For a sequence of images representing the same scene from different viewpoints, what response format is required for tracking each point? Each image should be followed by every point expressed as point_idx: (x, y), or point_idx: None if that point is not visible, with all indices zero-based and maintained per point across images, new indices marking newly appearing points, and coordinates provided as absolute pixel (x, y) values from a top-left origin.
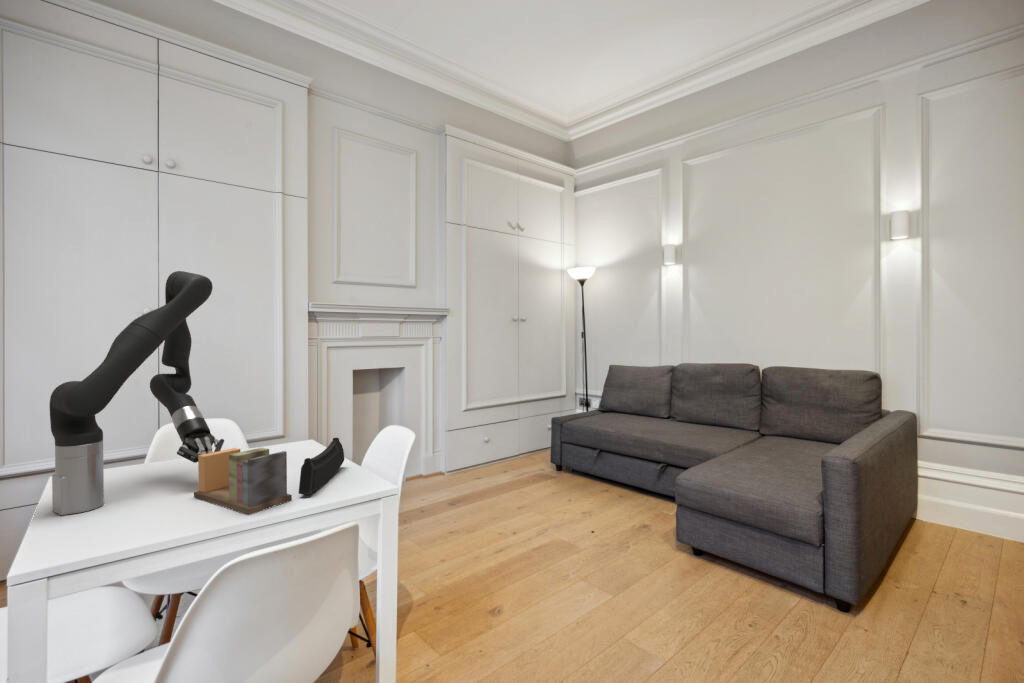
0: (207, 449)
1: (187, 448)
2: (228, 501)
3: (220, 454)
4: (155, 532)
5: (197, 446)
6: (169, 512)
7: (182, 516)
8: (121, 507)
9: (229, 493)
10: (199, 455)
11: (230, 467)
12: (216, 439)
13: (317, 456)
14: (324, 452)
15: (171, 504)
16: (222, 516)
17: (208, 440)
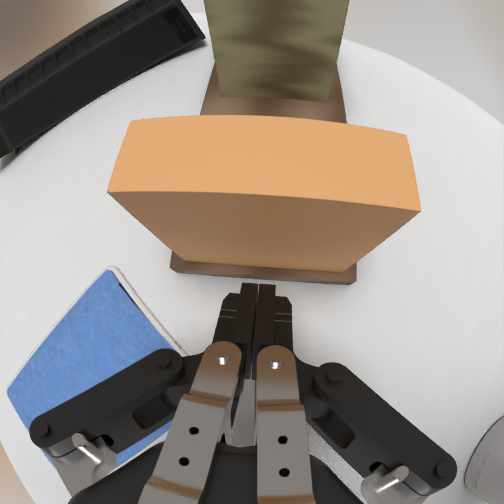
0: (227, 410)
1: (401, 465)
2: (335, 95)
3: (286, 123)
4: (470, 130)
5: (306, 474)
6: (441, 210)
7: (427, 152)
8: (479, 385)
9: (330, 88)
10: (416, 198)
11: (343, 17)
12: (66, 483)
13: (99, 18)
14: (55, 45)
15: (418, 280)
16: (367, 80)
17: (159, 489)
